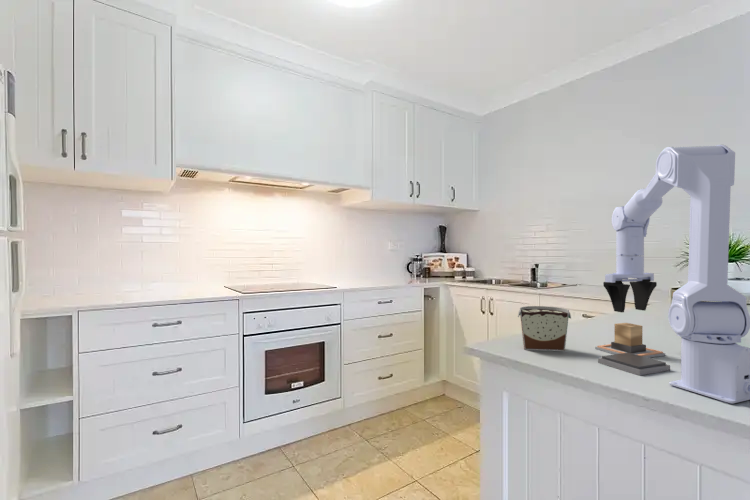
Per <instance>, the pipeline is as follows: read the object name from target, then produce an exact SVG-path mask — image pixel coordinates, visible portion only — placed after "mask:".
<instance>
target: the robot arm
mask: <svg viewBox="0 0 750 500" xmlns="http://www.w3.org/2000/svg"><path fill="white" fill-rule="evenodd" d="M735 166H736V152H735V151H734V150H733V149H731V148H730V147H729V146H728V145H725V144H716V145H703V146H701V145H699V146H676V147H674V146H666V147H664V148H663V150H661V151H660V153H659V154H658V157H657V158H656V161H655V174H654V175H653V177H652V178H651V179H650V181H649V182H648V183H647V186H646V187H645V188H644V187H643V188H639V189H638V190H636V191H635V193H634V194H633V195H632V196H631V198H630V199H629V200H628V201H627V202H626V204H625V205H624V206H623V205H622V206H616V207H615V208H614V210H613V212H612V214H611V225H612V228H613V230H614V231H615V233H616V235H615V236H616V237H615V242H616V243H615V244H616V247H615V248H616V249H615V259H616V261H615V265H616V267H615V271H616V272H612V273H606V274H604V279H605V280H604V281H603V287H604V288H605V290H606V292H607V294H608V295H609V299H610V301H611V305H612V308H613V312H617V313H625V310H626V300H627V294H628V292H629V289H630V287H631V290H632V294H633V302H634V303H633V304H634V308H635V310H638V311H646V310H647V307H648V304H649V303H648V302H649V300H650V297H651V295H652V293H653V291H654V290H655V289H656V287H657V286H658V285H657V281H654V280H655V274H654V273H653V272H645V237H647V235H648V233H647V232H648V227H649V225H650V220H651V218H650V217H651V216H652V215H654V213H656V212H657V211H658V209H659V208H660V207H661V206H662V205H663V197H664V196H665V195H666V194H667V193H668V192H670V191H671V190H672V189H673V188H675V187H676V188H680V189H682V190H683V191H685V192H686V193H687V195H688V196H689V198H690V200H689V204H690V205H689V233H688V234H689V235H688V236H689V238H688V267H687V268H688V269H687V272H688V274H687V282H686V283H685V284H683V285H682V286H681V287H679V288H678V289H676V290H675V291H673V293H672V300H671V305H670V306H669V309H668V313H667V319H668V324H669V326H670V328H671V329H672V331H673V332H674V333H676V336H677V337H681V338H680V339H681V340H680V341H681V342H680V350H681V351H680V352H681V353H680V355H681V356H680V357H681V358H680V362H681V363H680V369H681V370H680V377H681V378H680V379H677V380H672V381H669V382H668V383H669V385H670V386H674V387H677V388H680V389H683V390H686V391H690V392H693V393H696V394H699V395H702V396H706V397H709V398H712V399H716V400H717V401H722V402H724V403H728V404H731V405H732V404H737V403H742V402H746V401H750V347H747V346H743V345H741V344H739V343H742V338H744V337H746V336H747V334H748V333H749V331H750V313H749V310H748V307H747V305H748V304H747V299H748V298H747V297H746V296H745V295H744V294H742V293H741V292H740V291H738V290H737V289H734V288H733V287H732V286H731V285H729V284H728V279H729V278H728V277H729V275H728V274H729V273H728V272H729V250H730V248H729V247H730V245H729V244H730V243H729V242H730V219H731V218H730V217H731V215H730V214H731V213H730V212H731V190H732V189H731V187H733V186H734V185H735V169H736V167H735ZM627 282H629V284H626V283H627ZM624 283H625V284H624Z"/></svg>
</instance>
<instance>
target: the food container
mask: <svg viewBox="0 0 750 500" xmlns="http://www.w3.org/2000/svg"><path fill="white" fill-rule="evenodd" d="M517 317H518V318H520V322H521V323H520V326H521V333H522V343H523V350H526V351H547V350H555V352H565V351H566V344H567V343H566V342H567V336H568V335H567V333H568V326H569V325H568V324H569V319H571V320H572V315H571V312H570V310H569V309H567V308H562V307H558V306H557V307H556V306H543V305H532V306H531V305H530V306H529V305H528V306H521V307H520V308H519V310H518V313H517Z"/></svg>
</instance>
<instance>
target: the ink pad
mask: <svg viewBox="0 0 750 500" xmlns="http://www.w3.org/2000/svg"><path fill="white" fill-rule="evenodd" d="M597 359H598V360H597V362H598V364H601V365H605V366H607V367H611V368H615V369H618V370H621V371H624V372H626V373H631V374H634V375H637V376H645V375H649V374H651V375H652V374H655V373H660V372H661V373H662V372H667V371H671V365H670V364H667V363H666V361H661V360H659V359H654V358H647V357H643V356H639V355H635V354H632V353H621V354H608V355H602V356H601V357H598V358H597Z"/></svg>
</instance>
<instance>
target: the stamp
mask: <svg viewBox="0 0 750 500" xmlns="http://www.w3.org/2000/svg"><path fill="white" fill-rule="evenodd" d="M610 344H611V348H612V349H616V350H620V351H624V352H628V353H638V352H645V351H646V348H647V345H646V344H643V325H641V324H635V323H630V322H620V323H614V341H611V343H610Z"/></svg>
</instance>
